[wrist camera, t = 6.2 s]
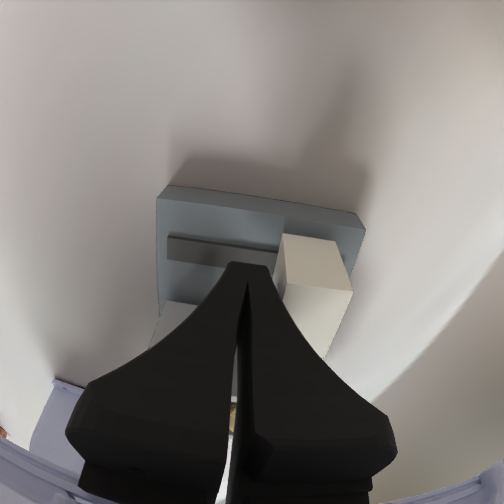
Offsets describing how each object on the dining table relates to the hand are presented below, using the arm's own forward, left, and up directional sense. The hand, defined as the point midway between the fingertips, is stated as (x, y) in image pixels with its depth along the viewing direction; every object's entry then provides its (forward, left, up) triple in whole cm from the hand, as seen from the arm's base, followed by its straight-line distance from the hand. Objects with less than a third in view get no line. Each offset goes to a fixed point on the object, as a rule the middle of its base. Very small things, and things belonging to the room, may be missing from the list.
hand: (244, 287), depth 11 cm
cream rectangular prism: (+2, 0, -2) cm, 3 cm away
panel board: (0, -4, -3) cm, 5 cm away
